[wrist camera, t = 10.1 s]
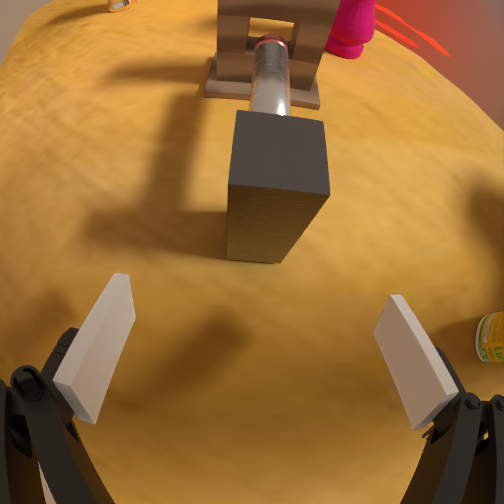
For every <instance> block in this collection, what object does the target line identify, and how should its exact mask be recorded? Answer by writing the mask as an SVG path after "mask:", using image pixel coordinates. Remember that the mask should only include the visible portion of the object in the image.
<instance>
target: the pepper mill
mask: <svg viewBox="0 0 504 504" xmlns="http://www.w3.org/2000/svg"><path fill="white" fill-rule="evenodd" d="M375 2H376V0H341V1H340V4H339V7H338V10H337V13H336V16H335V19H334V22H333V25H332V28H331V31H330V34H329V37H328V40H327V42H326V45H325V49H326V50H328V51H329V52H331V53H333V54H335V55H337V56H340V57H343V58H348V59H356V58H358V57H360V55H361V53H362V51H363V48H364V46H363V44H364V43H367V42H369V41H370V40H371V39H372V37H373V34H374V30H375V19H374V6H375Z"/></svg>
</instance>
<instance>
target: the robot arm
mask: <svg viewBox="0 0 504 504" xmlns="http://www.w3.org/2000/svg"><path fill="white" fill-rule="evenodd" d="M135 319H136V316H135V310H134V304H133V299H132V292H131V286H130V279H129V274H121V273H114V275H113V276H112V278H111V279H110V281H109V282H108V284H107V285H106V287H105V289H104V290H103V292H102V293H101V295H100V296H99V298H98V300H97V301H96V303H95V304H94V306H93V308H92V309H91V311H90V313H89V314H88V316H87V318H86V319H85V321H84V323H83V324H82V326H81V328H80V329H76V328H69V329H68V330H67V331H66V332H65V333H63V334H62V336H61V337H60V339H59V341H58V342H57V345H56V346H55V348H54V349H53V353H51V355H50V356H49V358H48V360H47V362H46V364H45V365H44V367H43V369H42V371H41V373H39V371H38V370H37V369H36V368H35V367H33V366H30V365H25V366H21V367H19V368H17V369H16V370H15V371H14V373H13V374H12V377H11V383H10V384H11V386H12V387H9V386H6V384H5V383H4V382H3V381H2V380H1V379H0V504H46V502H45V498H44V493H43V488H42V483H41V477H40V471H39V464H40V467H41V469H42V472H43V474H44V477H45V479H46V482H47V484H48V487H49V489H50V491H51V493H52V495H53V498H54V500H55V502H56V504H115V503H114V501H113V499H112V498H111V496H110V494H109V493H108V491H107V489H106V488H105V486H104V484H103V483H102V481H101V479H100V477H99V475H98V474H97V472H96V470H95V468H94V466H93V464H92V462H91V460H90V458H89V456H88V454H87V452H86V450H85V448H84V446H83V443H82V441H81V439H80V437H79V434H78V432H77V430H76V427H75V425H74V423H73V421H72V417H73V415H74V413H75V415H76V416H77V417H78V419H79V420H82V421H85V422H88V423H91V424H96V421H97V418H98V415H99V412H100V409H101V406H102V403H103V401H104V398H105V395H106V392H107V389H108V386H109V384H110V381H111V378H112V376H113V373H114V370H115V368H116V365H117V363H118V360H119V357H120V355H121V352H122V350H123V347H124V345H125V342H126V340H127V338H128V335H129V333H130V330H131V328H132V326H133V323H134V321H135ZM373 335H374V337H375V339H376V341H377V344H378V346H379V348H380V350H381V353H382V355H383V357H384V360H385V362H386V364H387V367H388V369H389V371H390V374H391V376H392V378H393V381H394V383H395V386H396V388H397V391H398V393H399V396H400V398H401V401H402V403H403V406H404V408H405V411H406V414H407V416H408V419H409V422H410V425H411V427H412V430H416V429H419V428H423V427H426V426H427V425H428V424H429V423H430V422H431V421H432V420H433V423H434V425H433V426H432V427H431V428H430V429H429V430H428V431H427V432H426V433H424V434H423V436H422V438H424V437H425V436H427V435H428V434H429V435H428V438H426V440H427V441H426V444H425V447H424V450H423V453H422V455H421V458H420V460H419V463H418V465H417V468H416V470H415V473H414V475H413V477H412V480H411V482H410V484H409V486H408V489H407V491H406V493H405V495H404V497H403V499H402V501H401V503H400V504H504V397H503V396H502V395H495V396H494V397H493V398H492V399H491V400H490V401H480V399H479V398H478V397H477V396H476V395H475V394H473V393H470V392H468V393H466V391H465V389H464V388H463V386H462V384H461V382H460V380H459V378H458V376H457V375H456V373H455V371H454V370H453V367H452V366H451V364H449V361H448V359H447V357H446V355H445V354H444V353H443V352H442V351H441V350H440V349H439V348H438V347H434V345H433V344H432V342H431V340H430V339H429V337H428V335H427V334H426V332H425V331H424V329H423V327H422V326H421V324H420V323H419V321H418V319H417V318H416V316H415V315H414V313H413V312H412V310H411V308H410V307H409V305H408V304H407V302H406V301H405V299H404V298H403V296H402V295H390V296H389V298H388V301H387V303H386V305H385V307H384V310H383V312H382V314H381V316H380V318H379V320H378V323H377V325H376V327H375V329H374V331H373ZM487 432H488V438H487V439H485V440H484V435H485V434H486V433H487ZM38 461H39V464H38Z"/></svg>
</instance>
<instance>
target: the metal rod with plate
mask: <svg viewBox="0 0 504 504" xmlns="http://www.w3.org/2000/svg"><path fill="white" fill-rule="evenodd" d="M329 196H330V185H329V172H328V161H327V151H326V141H325V132H324V124H323V121H318V120H312V119H306V118H300V117H294V116H291V103H290V80H289V62H288V46H287V42H286V41H285V40H284V39H283V38H282V37H280V36H278V35H274V34H268V35H264V36H262V37H260V38H259V39H258V40H257V42H256V45H255V54H254V64H253V73H252V83H251V93H250V103H249V111H243V110H237V114H236V122H235V129H234V137H233V145H232V154H231V162H230V171H229V180H228V202H227V252H226V259H229V260H242V261H255V262H267V263H281V262H282V260H283V259H284V258H285V256H286V255H287V254H288V252H289V251H290V250H291V248H292V247H293V246H294V244H295V243H296V242H297V240H298V239H299V237H300V236H301V235H302V233H303V232H304V231H305V229H306V228H307V227H308V225H309V224H310V223H311V221H312V220H313V218H314V217H315V216H316V214H317V213H318V212H319V210H320V209H321V207H322V206H323V205H324V203H325V202H326V200H327V199H328V198H329Z"/></svg>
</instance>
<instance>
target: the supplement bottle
mask: <svg viewBox="0 0 504 504" xmlns="http://www.w3.org/2000/svg"><path fill="white" fill-rule="evenodd" d="M475 346H476V352H477V355H478V357H479V358H480V360H482V361H483V362H489V363H491V362H504V311H501V312H496V313H491V314H487V315H485V316H484V317H483V318H482V319H481V321H480V322H479V325H478V328H477V331H476V338H475Z"/></svg>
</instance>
